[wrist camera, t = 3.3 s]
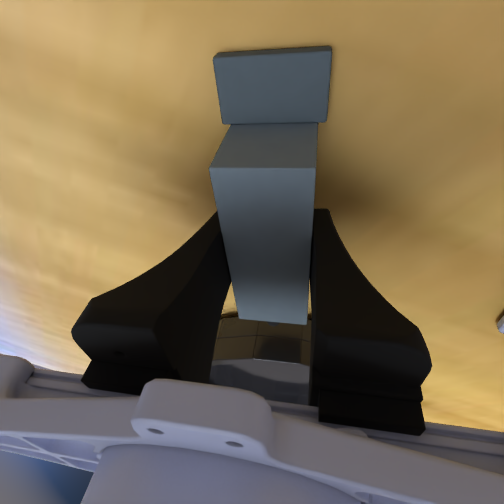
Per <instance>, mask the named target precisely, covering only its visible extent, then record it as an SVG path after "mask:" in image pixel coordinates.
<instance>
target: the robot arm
mask: <svg viewBox="0 0 504 504" xmlns="http://www.w3.org/2000/svg"><path fill="white" fill-rule="evenodd" d="M230 284H231V276H230V271H229V266H228V262H227V257H226V252H225V247H224V242H223V237H222V232H221V227H220V222H219V217H218V212H216V213H215V214H214V215H213V216H212V217H211V218H210V219H209V220H208V221H207V222H206V223H205V224H204V225H203V226H202V227H201V228H200V229H199V230H198V231H197V232H196V233H195V234H194V235H193V236H192V237H191V238H190V239H189V240H188V241H187V242H186V243H185V244H184V245H182V246H181V247H180V248H179V249H178V250H177V251H175V252H174V253H173V254H172V255H170V256H169V257H168V258H166V259H165V260H163V261H162V262H161V263H159V264H158V265H156V266H154V267H153V268H151V269H150V270H148V271H147V272H145V273H143V274H142V275H140V276H138V277H136V278H135V279H133V280H131V281H129V282H127V283H125V284H123V285H121V286H119V287H117V288H115V289H113V290H111V291H108V292H106V293H104V294H101V295H99V296H97V297H94V298H92V299H91V300H90V302H89V303H88V305H87V306H86V308H85V309H84V311H83V312H82V314H81V315H80V317H79V318H78V320H77V322H76V323H75V325H74V326H73V328H72V330H71V333H72V337H73V339H74V340H75V342H76V343H77V344H78V346H79V347H80V348H81V349H82V350H83V351H84V352H85V353H86V354H87V355H88V356H89V358H90V359H91V360H92V361H91V362H90V364H89V366H88V368H87V370H86V371H85V373H84V375H81V374H74V373H66V372H59V371H52V370H44V369H37V368H34V366H33V365H32V364H31V363H30V362H29V361H27V360H26V359H23V358H21V357H17V356H9V355H2V354H0V450H2V451H7V452H12V453H17V454H21V455H25V456H30V457H34V458H38V459H42V460H46V461H51V462H55V463H59V464H63V465H67V466H71V467H75V468H79V469H83V470H87V471H91V472H94V475H93V477H92V479H91V481H90V484H89V486H88V488H87V490H86V493H85V495H84V497H83V500H82V502H81V504H504V432H497V431H490V430H482V429H475V428H468V427H461V426H453V425H446V424H439V423H431V422H424V417H423V412H422V408H421V403H420V402H422V400H423V396H422V391H421V385H422V383H423V381H424V380H425V378H426V377H427V375H428V374H429V372H430V371H431V368H432V363H431V358H430V354H429V351H428V348H427V346H426V343H425V341H424V338H423V336H422V334H421V332H420V330H419V328H418V327H417V326H416V325H414V324H413V323H412V322H411V321H409V320H408V319H407V318H406V317H404V316H403V315H402V314H401V313H399V312H398V311H397V310H396V309H395V308H394V307H393V306H392V305H391V304H390V303H389V302H388V301H387V300H386V299H385V298H384V297H383V296H382V295H381V294H380V293H379V292H378V291H377V290H376V289H375V288H374V287H373V286H372V285H371V283H370V282H369V281H368V280H367V278H366V277H365V276H364V275H363V273H362V272H361V271H360V269H359V268H358V267H357V265H356V264H355V262H354V261H353V259H352V258H351V256H350V255H349V253H348V251H347V250H346V248H345V246H344V244H343V242H342V241H341V239H340V237H339V235H338V233H337V230H336V228H335V226H334V223H333V220H332V217H331V214H330V211H329V210H328V209H315V208H314V213H313V230H312V247H311V263H310V292H311V309H312V323H311V347H310V370H309V392H308V406H307V405H300V404H293V403H285V402H278V401H271V400H265V399H264V397H262V396H260V395H258V394H256V393H254V392H252V391H247V390H243V389H239V388H234V387H226V386H219V385H211V384H209V378H210V371H211V365H212V359H213V354H214V348H215V343H216V337H217V332H218V327H219V322H220V318H221V313H222V309H223V305H224V302H225V299H226V296H227V293H228V290H229V287H230ZM497 327H498V330H499V332H501V333H504V316H503V317H502V318H501V319H500V320H499V322H498V323H497Z"/></svg>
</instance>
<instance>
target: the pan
mask: <svg viewBox="0 0 504 504" xmlns="http://www.w3.org/2000/svg"><path fill="white" fill-rule="evenodd" d="M311 323H312V320H308V319H307V324H306V325H302V324H291V323H279V324H278V325H277V326H270V325H269V324H268V323H267V321H258V320H248V319H239V317H232V318H224V319H221V320H220V322H219V327H218V332H217V337H216V343H215V348H214V354H213V359H212V365H211V371H210V378H209V384H211V385H219V386H226V387H234V388H239V389H243V390H247V391H252V392H254V393H256V394H258V395H260V396H262V397H264V399H265V400H271V401H278V402H285V403H293V404H300V405H307V406H308V392H309V370H310V347H311Z"/></svg>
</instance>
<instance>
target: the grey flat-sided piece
mask: <svg viewBox="0 0 504 504" xmlns="http://www.w3.org/2000/svg"><path fill="white" fill-rule="evenodd" d="M331 62H332V48H331V46H320V47H304V48H288V49H271V50H255V51H239V52H223V53H217V54H216V55H215V56H214V58H213V65H214V71H215V78H216V85H217V91H218V98H219V104H220V111H221V118H222V123H223V124H231V125H230V127H229V129H228V131H227V133H226V135H225V137H224V139H223V141H222V143H221V145H220V147H219V149H218V151H217V153H216V155H215V157H214V159H213V161H212V163H211V165H210V167H209V172H210V177H211V182H212V187H213V192H214V197H215V202H216V207H217V212H218V217H219V222H220V227H221V232H222V237H223V242H224V247H225V252H226V257H227V262H228V266H229V271H230V276H231V281H232V286H233V291H234V296H235V301H236V306H237V311H238V316H239V319H248V320H258V321H267V323H268V324H269V325H270V326H277V325H278V324H279V323H291V324H302V325H306V324H307V313H308V297H309V280H310V263H311V247H312V230H313V213H314V197H315V180H316V161H317V137H318V122H326V121H327V113H328V100H329V87H330V75H331Z"/></svg>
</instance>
